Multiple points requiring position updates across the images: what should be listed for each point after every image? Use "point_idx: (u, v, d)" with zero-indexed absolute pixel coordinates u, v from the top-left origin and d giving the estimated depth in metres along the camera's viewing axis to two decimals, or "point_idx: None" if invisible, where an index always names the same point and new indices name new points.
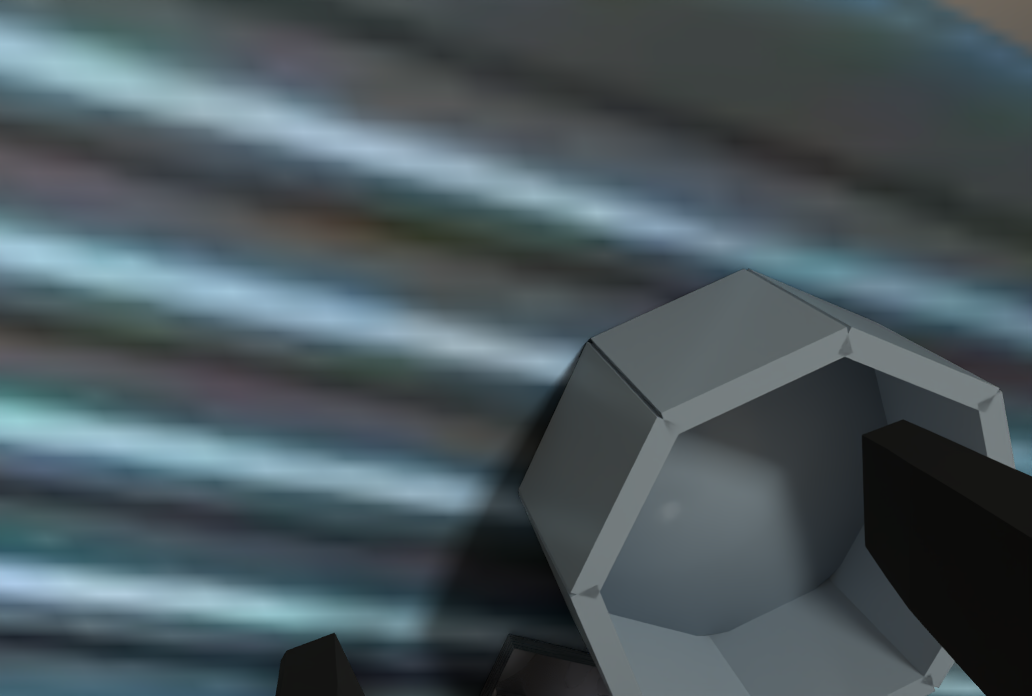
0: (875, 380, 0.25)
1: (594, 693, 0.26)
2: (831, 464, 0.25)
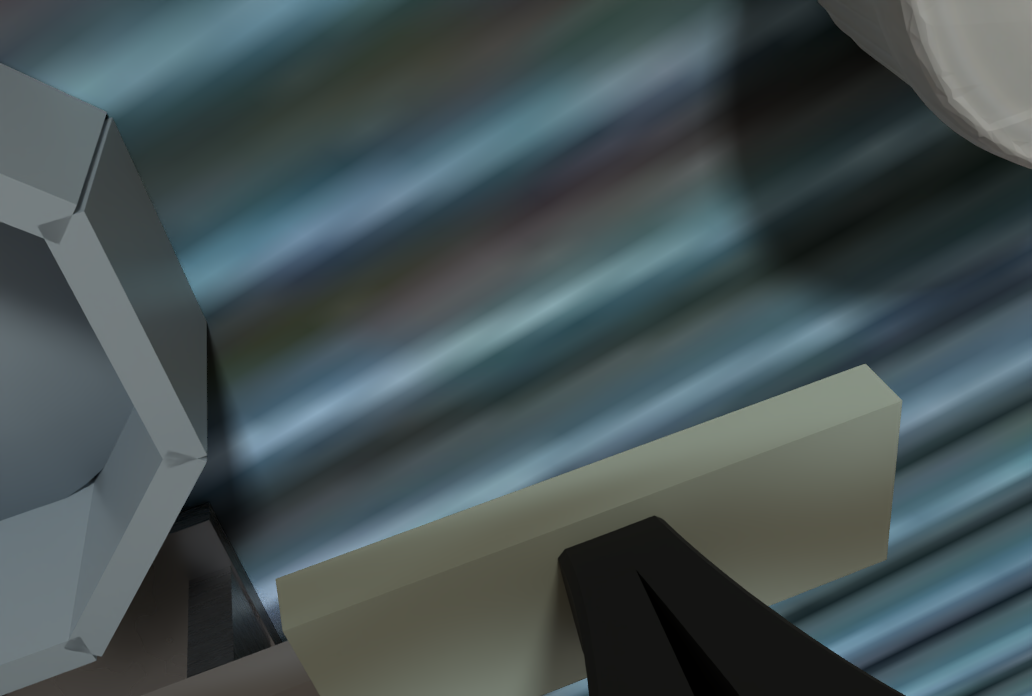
0: None
1: None
2: None
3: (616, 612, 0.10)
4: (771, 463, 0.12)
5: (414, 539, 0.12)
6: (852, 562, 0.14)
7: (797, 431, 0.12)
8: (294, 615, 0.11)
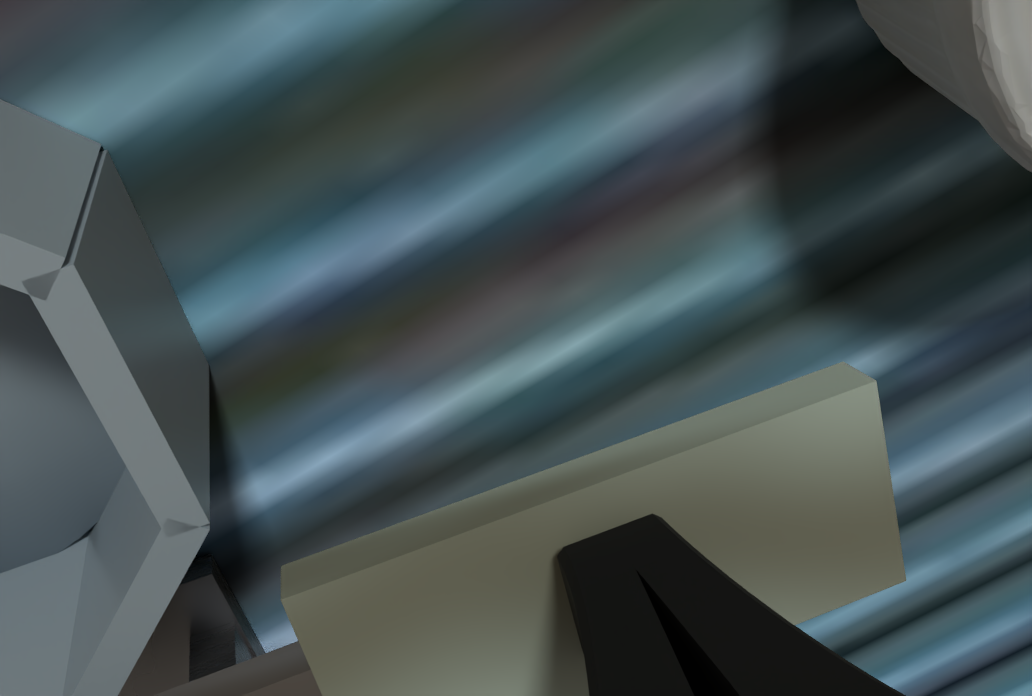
0: None
1: None
2: None
3: (616, 612, 0.10)
4: (753, 444, 0.12)
5: (411, 526, 0.12)
6: (867, 579, 0.13)
7: (776, 412, 0.12)
8: (293, 588, 0.12)
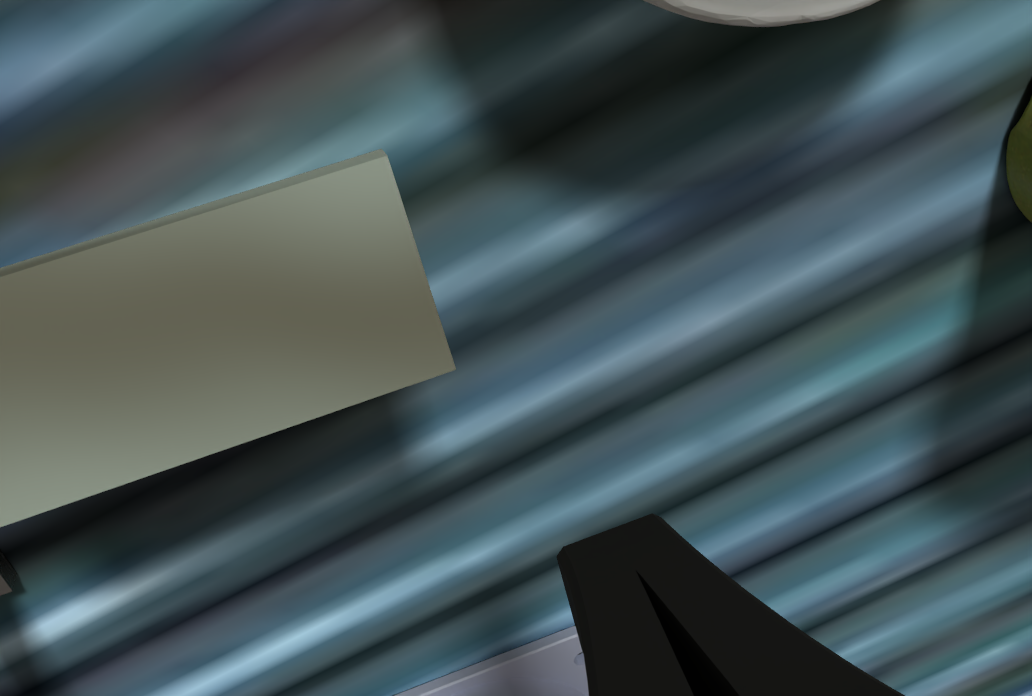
0: None
1: None
2: None
3: (616, 612, 0.10)
4: (261, 215, 0.13)
5: None
6: (413, 366, 0.14)
7: (287, 186, 0.13)
8: None
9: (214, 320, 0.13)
